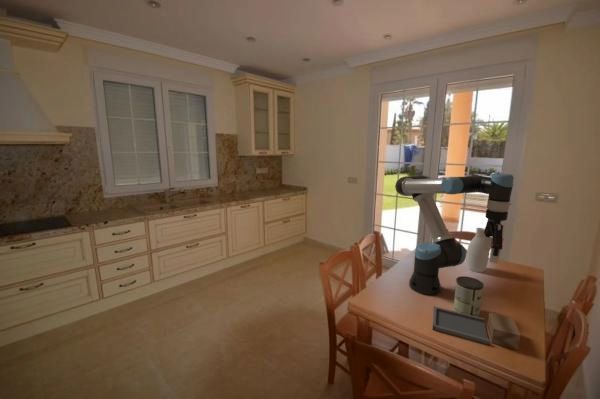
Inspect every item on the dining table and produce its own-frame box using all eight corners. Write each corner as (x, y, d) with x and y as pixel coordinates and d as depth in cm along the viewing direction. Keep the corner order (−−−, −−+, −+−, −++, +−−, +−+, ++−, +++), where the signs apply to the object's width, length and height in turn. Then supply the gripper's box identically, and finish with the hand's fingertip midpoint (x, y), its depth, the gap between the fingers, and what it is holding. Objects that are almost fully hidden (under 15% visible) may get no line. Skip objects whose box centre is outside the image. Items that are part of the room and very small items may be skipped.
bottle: (462, 269, 161) (467, 228, 156) (468, 263, 169) (473, 224, 164) (484, 275, 153) (489, 233, 148) (489, 269, 160) (494, 228, 155)
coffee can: (456, 301, 128) (459, 273, 126) (481, 309, 122) (485, 281, 119) (450, 310, 121) (453, 282, 118) (477, 320, 114) (481, 290, 111)
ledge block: (491, 342, 101) (493, 328, 100) (487, 325, 111) (489, 312, 110) (517, 350, 97) (520, 335, 96) (511, 331, 107) (513, 318, 106)
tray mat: (432, 329, 109) (432, 325, 108) (433, 309, 122) (434, 306, 121) (488, 345, 100) (489, 341, 100) (483, 322, 113) (484, 318, 113)
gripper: (517, 218, 102) (508, 269, 106) (499, 204, 124) (492, 247, 129) (494, 216, 105) (485, 266, 109) (480, 202, 127) (474, 244, 132)
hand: (489, 256), depth 119 cm, fingers open, 13 cm apart
